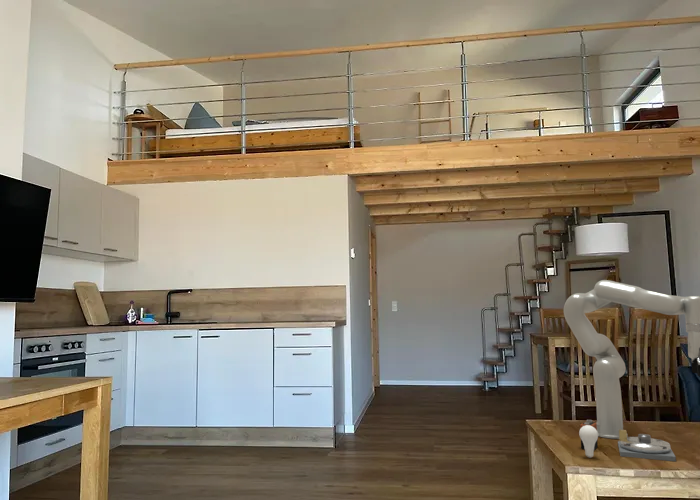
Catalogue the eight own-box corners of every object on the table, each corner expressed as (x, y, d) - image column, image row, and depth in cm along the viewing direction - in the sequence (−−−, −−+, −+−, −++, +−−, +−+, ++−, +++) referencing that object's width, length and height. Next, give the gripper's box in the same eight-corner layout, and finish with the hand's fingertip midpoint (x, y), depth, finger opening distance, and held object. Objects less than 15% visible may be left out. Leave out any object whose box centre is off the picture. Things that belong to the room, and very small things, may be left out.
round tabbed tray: (667, 444, 202) (666, 429, 202) (673, 455, 187) (672, 438, 188) (618, 440, 208) (617, 425, 209) (621, 450, 194) (620, 434, 194)
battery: (598, 447, 205) (596, 420, 206) (593, 451, 200) (591, 423, 201) (585, 445, 208) (584, 418, 209) (580, 449, 202) (579, 421, 204)
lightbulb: (597, 461, 187) (596, 427, 188) (578, 458, 190) (577, 425, 191) (600, 456, 192) (598, 424, 193) (581, 454, 195) (580, 422, 196)
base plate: (620, 456, 193) (620, 451, 193) (618, 445, 209) (617, 440, 209) (675, 461, 186) (675, 456, 186) (669, 449, 202) (668, 445, 202)
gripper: (681, 327, 217) (683, 371, 215) (691, 329, 201) (693, 376, 199) (703, 328, 214) (705, 372, 212) (715, 329, 198) (717, 378, 196)
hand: (699, 374), depth 206 cm, fingers open, 9 cm apart
